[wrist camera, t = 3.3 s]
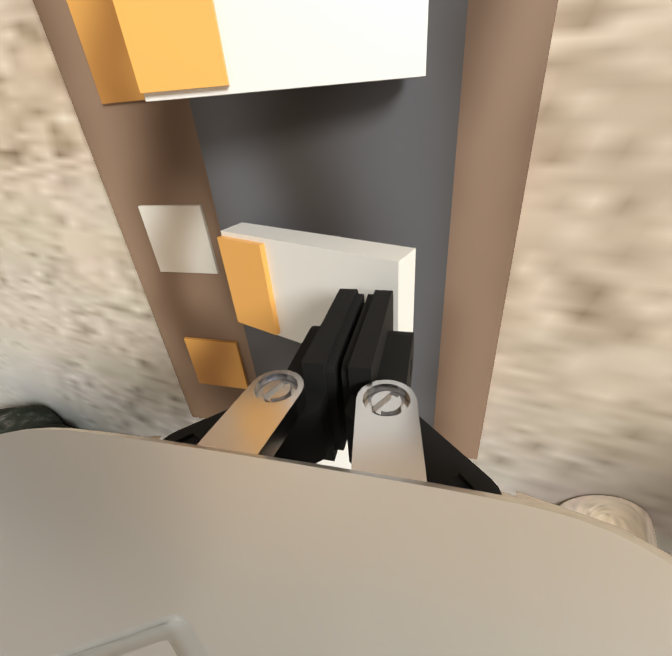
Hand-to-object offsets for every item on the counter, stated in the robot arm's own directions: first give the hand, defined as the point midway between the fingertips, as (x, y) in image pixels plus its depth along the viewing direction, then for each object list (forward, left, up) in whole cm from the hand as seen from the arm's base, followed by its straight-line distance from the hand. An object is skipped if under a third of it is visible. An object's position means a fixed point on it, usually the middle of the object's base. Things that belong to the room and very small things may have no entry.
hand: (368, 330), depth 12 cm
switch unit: (+6, 0, -9) cm, 11 cm away
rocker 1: (+3, -9, -2) cm, 10 cm away
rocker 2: (+3, 0, -2) cm, 4 cm away
